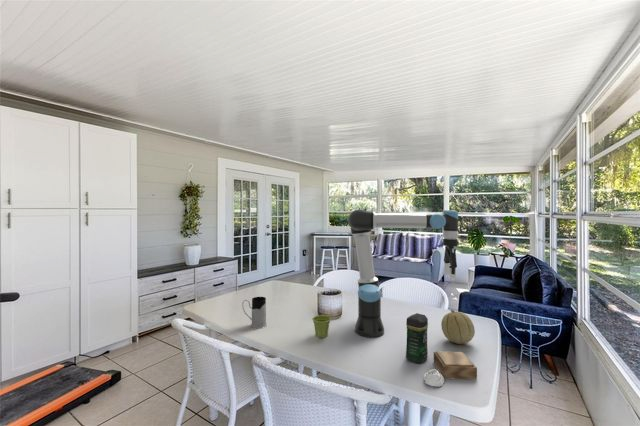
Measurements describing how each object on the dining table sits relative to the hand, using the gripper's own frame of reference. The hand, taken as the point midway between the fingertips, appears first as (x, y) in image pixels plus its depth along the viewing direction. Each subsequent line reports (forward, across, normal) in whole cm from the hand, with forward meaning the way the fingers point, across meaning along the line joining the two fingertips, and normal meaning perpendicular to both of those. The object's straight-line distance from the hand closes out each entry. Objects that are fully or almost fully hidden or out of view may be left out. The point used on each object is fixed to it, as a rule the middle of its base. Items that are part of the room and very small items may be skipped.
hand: (449, 277), depth 161 cm
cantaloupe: (+27, -19, 0) cm, 33 cm away
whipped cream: (+28, -57, +17) cm, 66 cm away
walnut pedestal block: (+27, -47, +8) cm, 55 cm away
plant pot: (+28, -25, +66) cm, 76 cm away
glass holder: (+29, -19, +105) cm, 111 cm away
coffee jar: (+28, -40, +21) cm, 53 cm away
